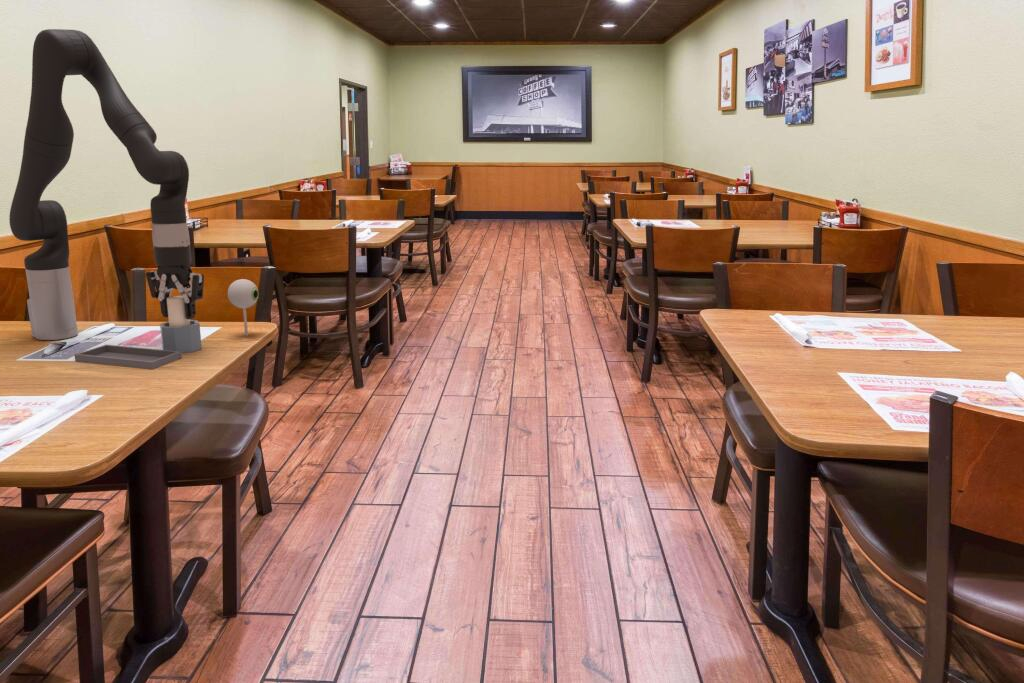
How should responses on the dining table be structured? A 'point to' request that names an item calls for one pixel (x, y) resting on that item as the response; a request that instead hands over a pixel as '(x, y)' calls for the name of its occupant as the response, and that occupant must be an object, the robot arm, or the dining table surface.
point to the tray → (128, 356)
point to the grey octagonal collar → (181, 337)
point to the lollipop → (243, 296)
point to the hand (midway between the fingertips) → (179, 317)
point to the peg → (177, 312)
